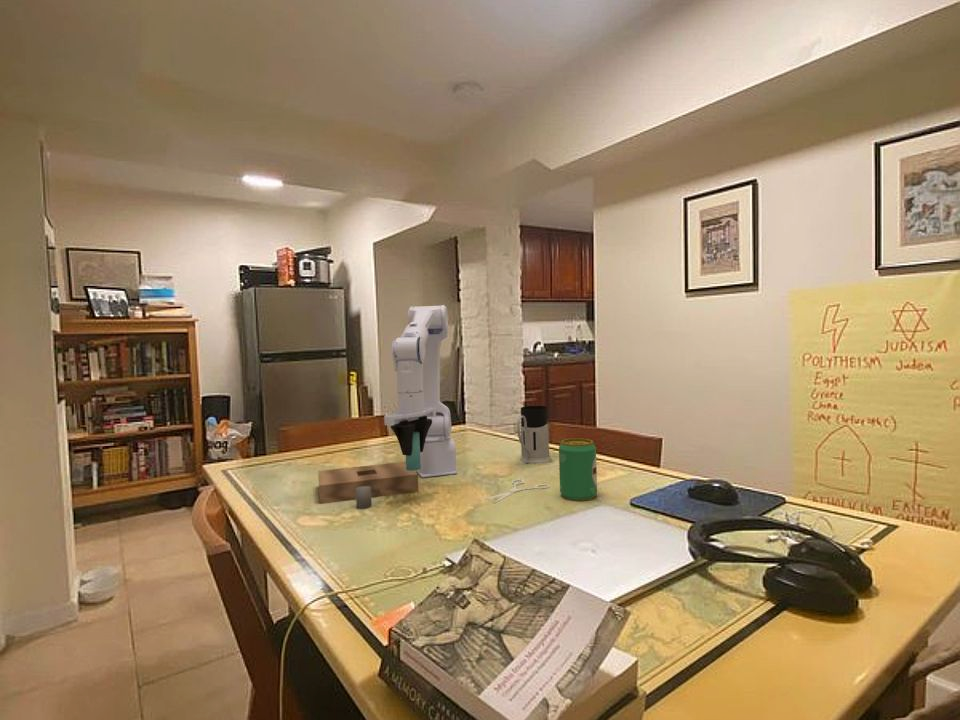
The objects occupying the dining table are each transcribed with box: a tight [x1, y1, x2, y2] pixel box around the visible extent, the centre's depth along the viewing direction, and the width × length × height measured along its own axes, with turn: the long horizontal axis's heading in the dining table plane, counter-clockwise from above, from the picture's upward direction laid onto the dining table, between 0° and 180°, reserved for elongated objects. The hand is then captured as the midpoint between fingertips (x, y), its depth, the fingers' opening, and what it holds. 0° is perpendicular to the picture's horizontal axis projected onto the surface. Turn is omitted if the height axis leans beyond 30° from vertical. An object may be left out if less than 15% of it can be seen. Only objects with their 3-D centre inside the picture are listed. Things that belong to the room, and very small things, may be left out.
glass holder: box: [516, 405, 552, 465], centre depth 148 cm, size 9×14×15 cm, turn 148°
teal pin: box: [405, 432, 421, 472], centre depth 116 cm, size 3×3×8 cm
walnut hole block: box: [317, 461, 419, 504], centre depth 126 cm, size 22×14×4 cm, turn 108°
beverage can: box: [558, 437, 598, 502], centre depth 115 cm, size 8×8×12 cm
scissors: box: [478, 477, 550, 504], centre depth 120 cm, size 11×1×20 cm
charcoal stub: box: [355, 486, 373, 510], centre depth 113 cm, size 3×3×4 cm
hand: (412, 453), depth 116 cm, fingers closed on teal pin, 3 cm apart
